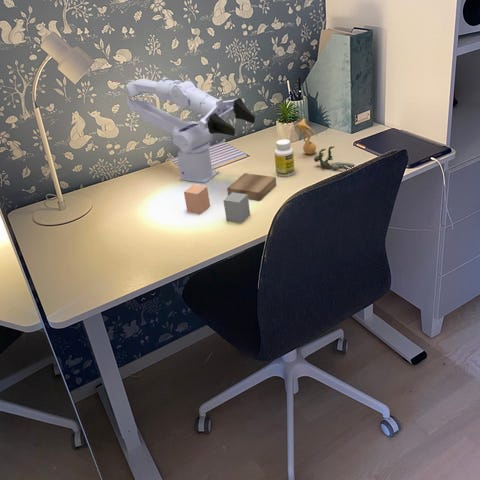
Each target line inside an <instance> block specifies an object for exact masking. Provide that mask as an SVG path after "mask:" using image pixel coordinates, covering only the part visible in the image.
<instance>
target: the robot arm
mask: <svg viewBox="0 0 480 480" xmlns="http://www.w3.org/2000/svg"><path fill="white" fill-rule="evenodd" d="M126 89H127V92H128V94H129V96H127V99H128V100H127V104H128V108H129V109H130V110H129V111H130V112H131V111H134V112H136V113H137V114H138V115H139V117H140V118H141V119H142V120H141V119H140V120H141V121H143V122H145V123H147V124H149V125H151V126H152V127H155V128H156V129H158V130H160V131H162V132H163V133H166V134H168V135H170V136H172V141H173V145H174V146H176V147H178V148H179V150H178V153H177V163H178V169H179V175H180V177H179V180H181V181H188V182H195V183H203V184H206V183H207V182H208V181H210V180H211V179H213V178H214V177H215V176H216V175H217V174H218V173H219V171H218V170H213V167H212V159H211V153H210V147H211V142H212V141H213V137H214V135H213V134H222V135H227V136H232V137H234V136H236V129H235V127H234V126H233V125H231V124H229V122H226V121H225V120H226V119H227V117H229V115H230V114H231V113H232V112H233V113H234V115H235V116H234V117H235V118H234V120H235V119H238V120H239V119H240V120H243V121H245V122H247V123H250V124H254V123H256V115H254V114H253V113H252V112H251V111H250V109H249V108H248V107H247V106H246V104H245V102H244V101H243V99H242V98H241V97H236V98H235V99H230V100H229V99H228V100H224V99H223V98H222V97H221V98H219V99H218V98H217V97H214V96H212V95H211V94H208V93H207V92H205V91H203V90H201V89H200V88H199V86H198V85H197V83H196V82H195V81H194V80H191V79H186V80H185V81H184V82H183V81H180V80H178V79H175V80H171V79H169V77H163V78H161V79H160V80H159V81H155V80H152V79H148V78H146V79H145V78H143V79H139V80H136V81H133V82H129V83H128V84H127V85H126ZM142 93H149V94H151V95H156V96H157V97H158V99H160V100H163V101H168V102H173V103H174V104H175V105H176V107H178V108H179V107H185V108H190V109H191V110H193V111H195V112H196V113H198V114H200V115H202V116H203V117H202V118H201V119H200V120H199V122H198V121H195V120H194V121H191V120H190V121H185V120H183V119H181V118H179V117H176V116H174V115H172V113H171V114H170V113H168V112H166V111H165V110H164V109H163V110H162V109H161V108H158V107H156V106H155V105H153V104H152V105H151V104H150V102H146V101H145V102H144V101H139V100H138V99H136V100H134V101H133V100H131V99H130V98H132V97H135V96H137V95H140V94H142ZM129 97H130V98H129Z"/></svg>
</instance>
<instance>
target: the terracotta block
mask: <svg viewBox="0 0 480 480" xmlns="http://www.w3.org/2000/svg"><path fill="white" fill-rule="evenodd" d="M183 195H184V201H185V206H186V210H187V212H188V213H194V214H199V215H202V214H203V213H204V212H205V211H207V210H208V209H209V208H210V207H211V203H210V198H209V191H208V186H206V185H205V186H204V185H199V184H191V186H190V187H187V188H186V189H185V190H184V191H183Z"/></svg>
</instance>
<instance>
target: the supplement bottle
mask: <svg viewBox="0 0 480 480" xmlns="http://www.w3.org/2000/svg"><path fill="white" fill-rule="evenodd" d="M275 144H276V149H274V162H275V163H274V164H275V174H276V175H277V176H279V177H291V176H292V175H294V173H295V160H294V149H293V147H291V141H290V140H289V139H279V140H277V141H276V142H275Z"/></svg>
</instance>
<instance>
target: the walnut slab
mask: <svg viewBox="0 0 480 480" xmlns="http://www.w3.org/2000/svg"><path fill="white" fill-rule="evenodd" d="M276 186H277V177H276V176H270V175H263V174H254V173H248V172H246V173H245V172H244V173H243V174H242V175H241V176H240V177H238V178H237V179H235V181H234V182H232V184H230V185H229V186H227V188H226V189H227V195H228V196H229V195H230V194H231V193H232V192H234V193H241V194H248V200H251V201H256V202H257V201H258V202H261V201H262V200H263V199H264V198H265V197H266V196H267V195H268V194H269V193H271V192H272V191H273V189H274V188H275V187H276ZM228 196H227V197H228Z"/></svg>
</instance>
